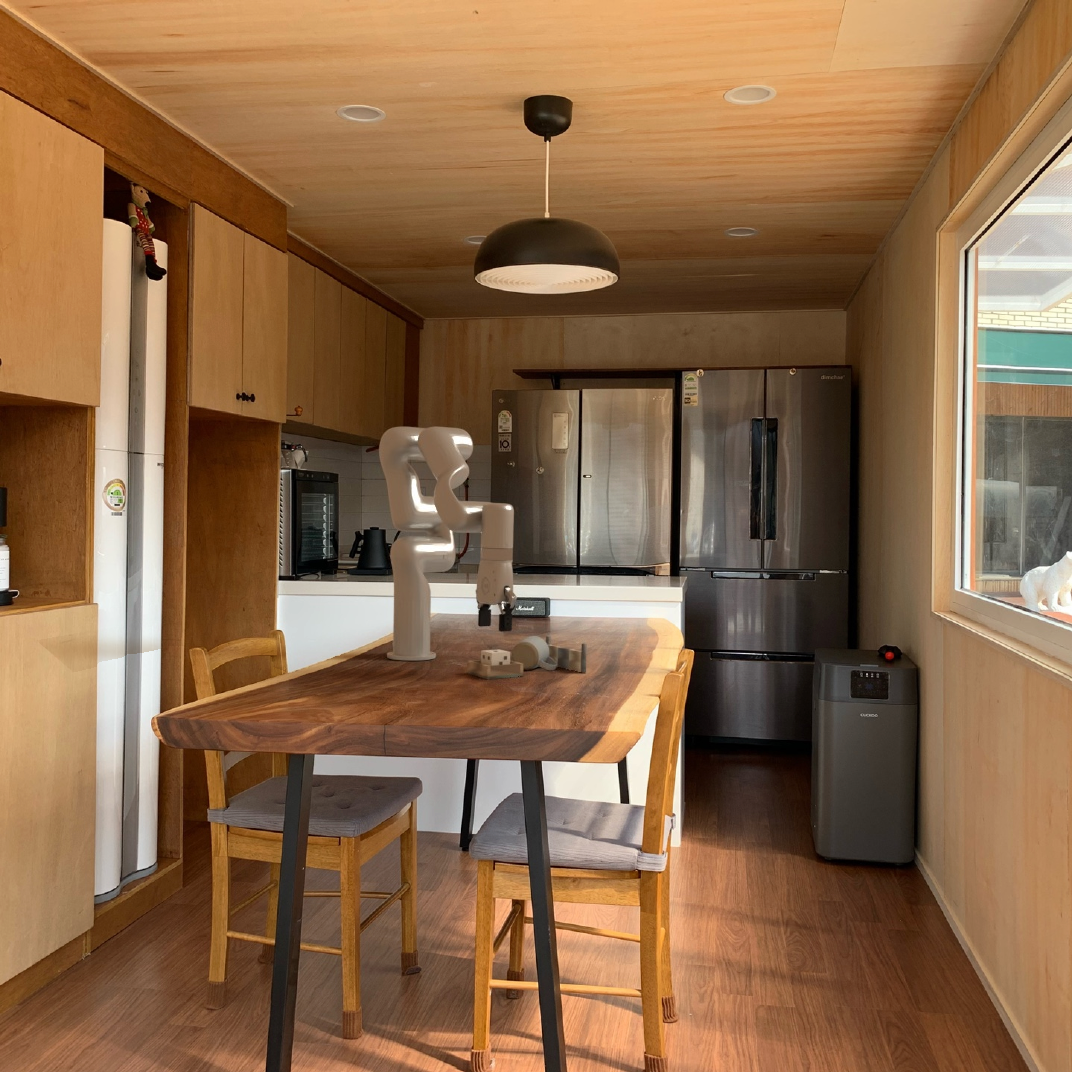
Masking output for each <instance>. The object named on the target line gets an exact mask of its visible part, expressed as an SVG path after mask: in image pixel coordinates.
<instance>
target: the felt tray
mask: <svg viewBox="0 0 1072 1072" xmlns="http://www.w3.org/2000/svg"><path fill="white" fill-rule="evenodd" d="M466 667H467V669H466V670H467V671H466V674H467V673H468V674H467V675H471V676H475V677H477V676H478V678H481V679H485V680H496V679H497V680H498V679H508V678H509V679H510V677H511V678H521V677H520V676H523V677H524V670H523V663H519V662H515V661H513V660H510V664H504V665H490V666H488V665H485V664H481V659H479V660H478V659H475V660H467V664H466ZM518 676H519V677H518Z"/></svg>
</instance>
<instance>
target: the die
mask: <svg viewBox="0 0 1072 1072" xmlns="http://www.w3.org/2000/svg"><path fill="white" fill-rule="evenodd" d="M480 651H481V652H480V660H481V664H485V665H488V666H490V665H504V664H510V661H511V651H509V650H503V649H499V648H498V649H486V650H480Z"/></svg>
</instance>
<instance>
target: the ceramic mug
mask: <svg viewBox="0 0 1072 1072" xmlns="http://www.w3.org/2000/svg"><path fill="white" fill-rule="evenodd" d="M511 657H512V661H515V662H519V663H523V671H530V670H533V669H536V668H539V667H540V668H542V669H544V670H545V671H546V670H547V671H551V670H553V671H555V670H556V668H558V667H557V662H556V661H555V660H553V659H552V658H551V657H549V647H548V645H547V643H546V640H544V639H543V638H542V637H541V636H537V635H531V636H528V637H526V638H524V639H522V640H520V641H519V642H518V643H516V645H515V646H514V647H513V649H512V653H511ZM546 662H547V663H549V664H547V663H546Z"/></svg>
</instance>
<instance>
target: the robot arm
mask: <svg viewBox="0 0 1072 1072" xmlns="http://www.w3.org/2000/svg"><path fill="white" fill-rule="evenodd" d="M473 442H474V441H473V439H472V437H471V435H470V434H469V433H468V432H467V431H466V430H465V429H462V428H460V427H459V428H458V427H450V426H449V427H446V426H430V427H417V426H413V427H412V426H395V427H391V428H389V429H387V430H386V431H385V432H384V433H383V434H382V436H381V438H380V442H379V447H378V453H379V454H378V455H379V461H380V465H381V468H382V472H383V475H384V476H385V477H384V478H385V480H386V485H387V493H388V494H387V495H388V504H389V510H390V517H391V522H392V524H393V525H392V526H393V527H394V528H395V529H396V530H397V531H399V532H406V533H426V534H427V536H424V535H407V536H402V537H399V538H397V539H396V540H395V541H394V542H393V543H392V545H391V547H390V555H389V556H390V562H391V567H392V568H391V569H392V575H393V625H392V626H393V627H392V628H393V631H392V632H393V633H392V634H393V637H392V643H391V645H392V651H389V652H387V653H386V657H387V659H390V660H395V661H407V662H408V661H413V662H414V661H427V660H433V659H436V657H437V653H436V652H434V651H431V603H432V601H431V599H432V598H431V597H432V595H431V594H432V591H431V587H430V584H429V581H428V579H427V578H426V576H425V575H424V574H426V573H441V572H442V573H444V572H447V571H449V570H451V569H452V568H453V566H454V564H455V561H456V545H455V538H454V533H458V534H459V533H460V534H461V533H462V534H464V533H465V534H466V533H468V534H472V533H474V534H480V535H481V536H480V561H479V565H478V570H477V577H476V578H477V580H476V589H475V599H476V603H477V609H478V611H477V612H478V613H477V614H478V615H477V626H478V627H481V628H482V627H483V628H484V627H491V625H492V609H490V608H491V606H496V605H497V607H498V609H499V612H500V614H499V613H498V631H499V632H501V633H502V632H512V630H513V628H512V627H513V614H514V610H515V608H516V602H517V599H518V598H517V595H516V594H515V593H514V570H513V561H514V560H513V557H514V556H513V553H514V552H513V551H514V549H513V548H514V521H515V518H514V517H515V510H514V506H513V505H512V504H510V503H501V502H489V501H473V500H471V501H470V500H459V498H457V497H456V494H455V493H454V491H453V490H454V489H456V488H458V487H460V486H461V485H462V484H463V483H464V482H466V480H467V478H468V477H469V475H470V467H469V465H468V463H467V462H466V461H467V460H468V459H470V457H471V456H472V455H473V450H474V443H473ZM412 460H413V461H423V462H424V461H425V462H426V464H427V466H428V467H429V469H430V471H431V473H432V475H433V476H434V478H435V480H436V484H435V487H434V491H433V496H432V495H431V496H429V495H427V496H426V495H424V494H422V491H421V484H420V479H419V476H418V474H417V472H416V470H415V469H414V467H413V466H412V465H411V464H410V463H409V462H408V461H412Z"/></svg>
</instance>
